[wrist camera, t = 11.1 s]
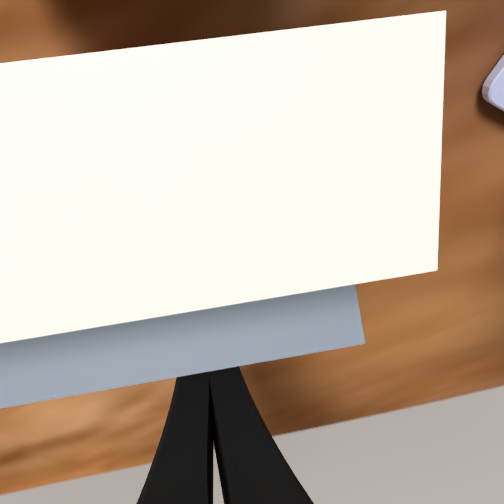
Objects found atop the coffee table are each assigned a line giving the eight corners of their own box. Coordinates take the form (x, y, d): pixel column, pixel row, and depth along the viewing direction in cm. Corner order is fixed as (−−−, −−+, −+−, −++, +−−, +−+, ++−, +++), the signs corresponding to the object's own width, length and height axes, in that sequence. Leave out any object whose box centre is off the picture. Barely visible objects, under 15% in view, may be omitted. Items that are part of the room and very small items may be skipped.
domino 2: (276, 299, 14) (365, 343, 5) (129, 324, 14) (-41, 416, 5) (268, 247, 14) (341, 204, 5) (121, 270, 14) (-61, 266, 5)
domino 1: (264, 151, 12) (437, 269, 3) (82, 176, 11) (-250, 384, 3) (256, 82, 11) (446, 10, 3) (64, 106, 11) (-424, 114, 2)
